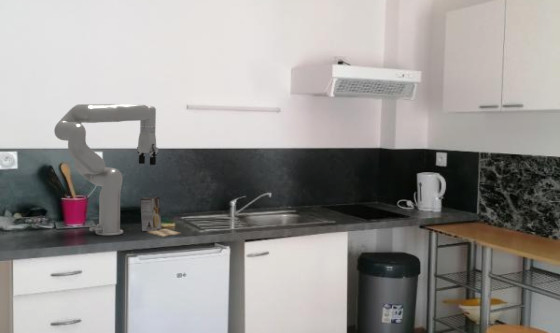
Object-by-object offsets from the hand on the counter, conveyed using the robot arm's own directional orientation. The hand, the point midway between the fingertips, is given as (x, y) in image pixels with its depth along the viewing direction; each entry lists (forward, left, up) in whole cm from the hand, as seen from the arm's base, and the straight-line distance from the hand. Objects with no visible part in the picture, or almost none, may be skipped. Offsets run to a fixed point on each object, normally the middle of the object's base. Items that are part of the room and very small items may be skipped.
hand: (147, 164), depth 270 cm
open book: (-2, -17, -33) cm, 37 cm away
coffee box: (-2, -7, -33) cm, 33 cm away
